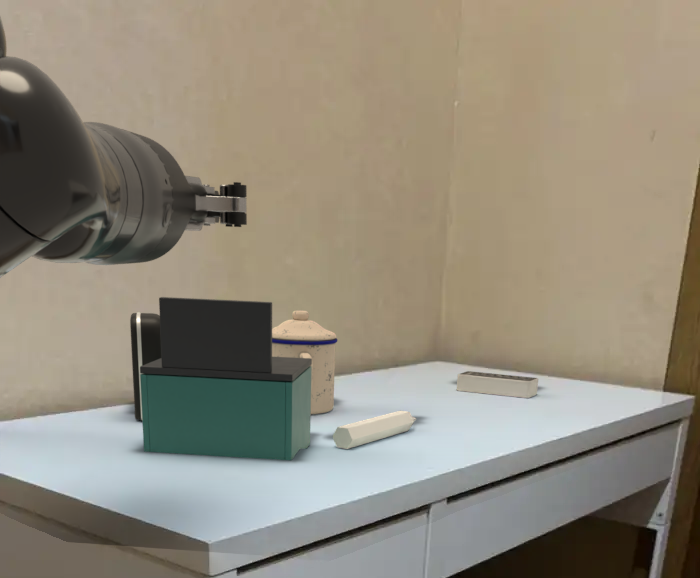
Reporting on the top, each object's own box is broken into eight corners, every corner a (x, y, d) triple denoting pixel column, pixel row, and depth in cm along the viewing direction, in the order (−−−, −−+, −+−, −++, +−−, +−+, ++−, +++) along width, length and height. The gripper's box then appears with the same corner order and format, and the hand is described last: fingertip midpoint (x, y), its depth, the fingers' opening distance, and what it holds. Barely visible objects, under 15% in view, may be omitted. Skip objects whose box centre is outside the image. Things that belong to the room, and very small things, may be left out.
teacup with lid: (259, 402, 120) (259, 307, 116) (329, 402, 122) (331, 308, 117) (268, 420, 109) (268, 315, 105) (345, 420, 111) (348, 317, 106)
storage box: (144, 461, 88) (140, 374, 85) (179, 436, 99) (176, 358, 96) (291, 470, 87) (292, 382, 84) (310, 444, 98) (311, 365, 95)
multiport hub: (528, 398, 131) (530, 381, 131) (455, 390, 136) (456, 374, 135) (537, 394, 135) (539, 377, 134) (465, 386, 139) (467, 370, 139)
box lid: (139, 373, 85) (136, 296, 82) (176, 357, 96) (174, 289, 93) (292, 381, 84) (293, 303, 81) (311, 364, 95) (313, 295, 92)
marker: (416, 432, 109) (344, 453, 96) (403, 421, 110) (329, 441, 97) (428, 414, 108) (355, 433, 95) (414, 403, 108) (341, 420, 95)
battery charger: (169, 422, 106) (165, 316, 101) (135, 422, 105) (129, 315, 101) (168, 411, 112) (165, 311, 108) (136, 411, 111) (131, 310, 107)
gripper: (225, 129, 54) (278, 154, 69) (-12, 122, 55) (93, 148, 71) (227, 269, 56) (278, 262, 72) (1, 259, 58) (100, 254, 73)
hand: (186, 205), depth 71 cm, fingers open, 3 cm apart
